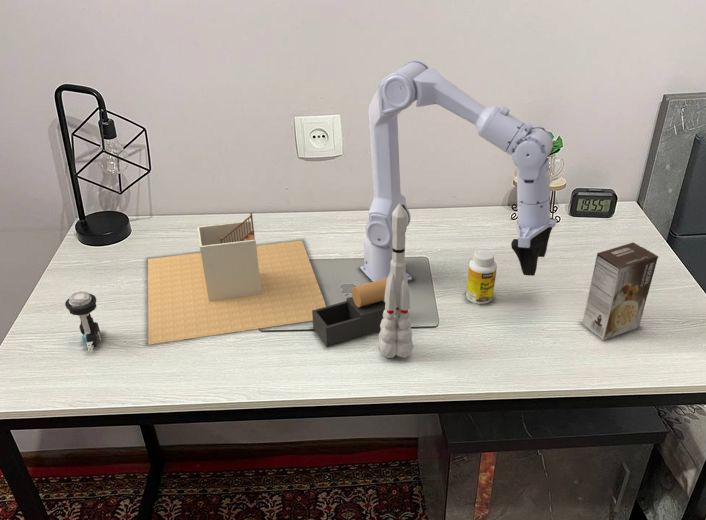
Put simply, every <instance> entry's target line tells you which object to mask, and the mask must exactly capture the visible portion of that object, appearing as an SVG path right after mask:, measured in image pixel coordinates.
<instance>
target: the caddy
mask: <svg viewBox="0 0 706 520" xmlns="http://www.w3.org/2000/svg"><path fill="white" fill-rule="evenodd" d="M385 303H386V302H385V300H384V301H380V302H376V303H373V304H369V305H366V306H362V307H357V306H356V305H355V303H354V300H353V297H352V296H350V297H346V298H345V301H342V302H338V303H333V304H330V305H326V307H323V308H319V309H316V310H312V316H313V321H312V330H313V331H314V332H315V333H316V335H317V336H318V337H319V339H320V341H321V342H322V343H323V344H324V345H325V347H326V348H330V347H333V346H336V345H340V344H343V343H346V342H350V341H353V340H357V339H360V338H363V337H366V336H369V335H373V334H377V333H380V331H381V328H380V324H381V321H382V319H383V312H384V310H385Z"/></svg>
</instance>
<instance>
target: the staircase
mask: <svg viewBox="0 0 706 520" xmlns="http://www.w3.org/2000/svg"><path fill="white" fill-rule="evenodd" d="M196 229H197V237H198V244H199V250H200V252H199V253H200V257H201V263H202V269H203V275H204V281H205V287H206V293H207V299H208V301H209V302H211V301H219V300H226V299H234V298H241V297H249V296H256V295H262V294H263V292H262V283H261V274H260V265H259V257H258V248H257V246H258V245H257V241H256V240H257V239H256V237H255V236H256V235H255V228H254V219H253V212H252V211H250V212H249V216H248V217H246V218H245V219H244V220H243V221H236V222H235V221H234V222H228V223H227V222H226V223H217V224H208V225H202V226H201V225H200V226H197V228H196Z"/></svg>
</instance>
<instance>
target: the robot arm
mask: <svg viewBox="0 0 706 520" xmlns="http://www.w3.org/2000/svg"><path fill="white" fill-rule="evenodd" d="M415 102H416V104H415V107H416V108H420V107H427V106H432V105H438V106H439V107H442V108H443V109H445V110H446V111H449V112H450V113H452V114H454V115H456V116H458V117H460V118H461V119H463V120H465V121H467V122H469V123H470V124H473V126H475V128H476V131H477V134H478V136H479V137H480V138H482V139H483V140H485V141H487V142H488V143H490V144H491V145H493V146H495V147H497V148H498V149H500V150H501V151H502V152H504V153H506V154H507V155H510V156H511V160H512V162H513V164H514V165H515V167H516V196H517V197H516V201H517V203H516V205H517V220H516V228H517V232H518V236H517V238H513V239H512V241H511V243H510V245H511V249H512V250H513V252H514V253H515V255H516V257H517V259H518V262H519V265H520V269H521V271H522V274H523V276H529V277H534V276H535V274H536V272H537V269H538V261H539V258H545V256H546V253H547V249H548V244H549V239H550V235H551V232H552V230H553V228H555V227H556V225H557V220H556V219H555V218H554V217H550V215H551V214H550V212H551V211H550V208H551V207H550V205H551V204H550V203H551V202H550V201H551V199H550V198H551V197H550V196H551V191H550V190H551V186H550V185H551V177H550V176H551V173H550V157H549V155H550V154H551V152H552V150H553V148H554V147H553V146H554V141H553V136H552V135H551V134H550V132H549V130H547V129H546V128H545V127H543V126H539V125H534V126H533V125H532V123H530V122H527V123H525V122H524V121H522V120H520V119H519V118H517V117H515V116H514V115H512V114H511V113H510V109H509V108H508V107H506V106H502V107H499V106H498V105H494V106H490V107H486V106H485V105H483V104H482V103H480V102H479V101H478V100H476V99H475V98H474V97H472V96H471V95H470V94H467V93H466V92H465V91H464V90H463V89H460V88H459V87H458V86H457V85H455V84H454V83H452V82H451V81H449V80H448V79H447V78H445V77H444V76H443V75H442V74H441V73H440V72H439V70H438V69H436V68H434V67H431V66H430V67H429V66H428V65H427V64H426V63H425V62H423V61H422V60H417V59H416V60H415V59H414V60H410V61H408V62H407V63H405V64H404V65H403V66H402V67H400V68H399V69H397V70H395V71H394V72H392V73H390V74H388V75H387V76H385V78H383V79H382V80H381V81H379V82H378V83H377V89H376V91H375V93H374V95H373V98H372V100H371V101H370V104H369V106H368V109H367V110H368V111H367V113H368V127H369V142H370V143H369V144H370V157H371V158H370V159H371V173H372V186H373V188H372V189H373V199H372V202H371V205H370V207H369V210H368V221H367V223H366V226H365V236H366V237H365V238H364V242H363V265H361V266H360V270H361V271H362V272H363V274H364V275H366V276H367V278H369V279H370V281H371V282H373V281H377V280H381V279H385V278H388V276H389V274H390V272H391V260H392V252H393V249H392V248H393V231H392V213H393V211H394V210H395V209H396V207H397V206H398V205H399V203H400V204H401V205H402V207H403V208H404V210H405V211H406V213H407V227H408V226H409V225H410V223H411V217H412V216H411V212H410V210H409V209H408V205H407V198H406V196H405V195H403V194H402V192H401V172H400V171H401V170H400V147H399V146H400V145H399V125H398V123H399V122H398V116H399V114H401V113H402V111H405V110H406V109H408V108H410V107H411V106H412V104H413V103H415ZM404 260H405V261H406V256H405V257H404ZM405 274H406V277H407V279H408V282H409V281H412V280H413V277H412V276H411V275H410V274H409V273H408V272H407V271H406V272H405Z"/></svg>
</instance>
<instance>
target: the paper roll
mask: <svg viewBox="0 0 706 520" xmlns="http://www.w3.org/2000/svg"><path fill="white" fill-rule="evenodd" d="M386 282H387V278H385V279H381V280H377V281H370V282H367V283H362V284H359V285H355V286H352V288H351V297H353V300H354V303H355V305H356V306H357V307H362V306H366V305H369V304H373V303H376V302H380V301H384V302H385V300H384V298H385V290H386Z"/></svg>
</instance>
